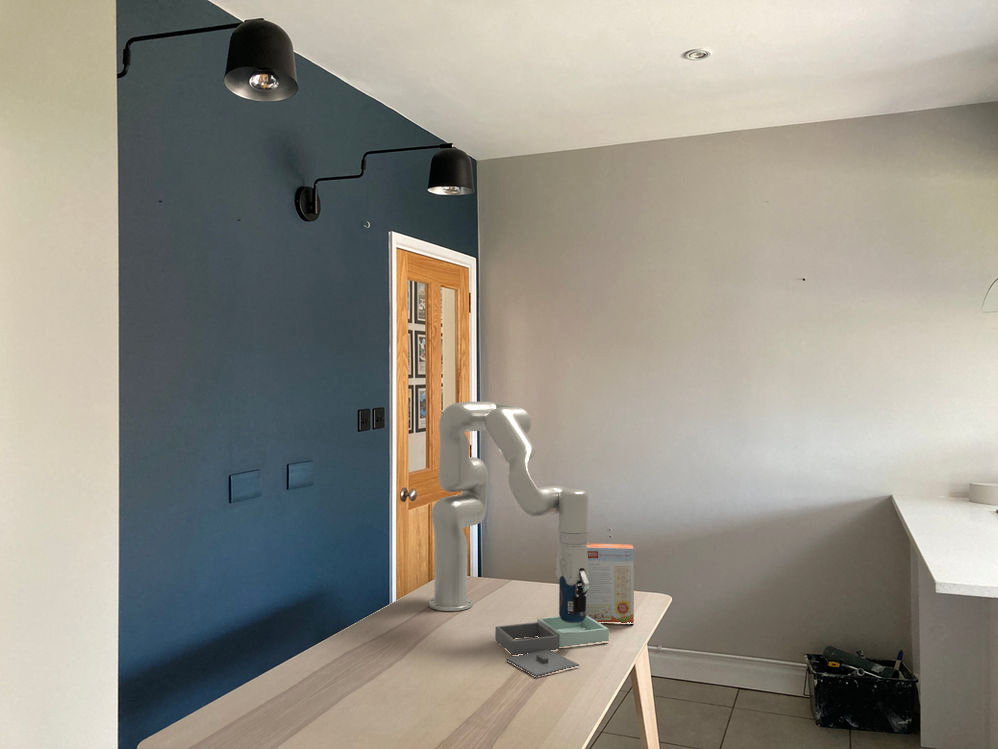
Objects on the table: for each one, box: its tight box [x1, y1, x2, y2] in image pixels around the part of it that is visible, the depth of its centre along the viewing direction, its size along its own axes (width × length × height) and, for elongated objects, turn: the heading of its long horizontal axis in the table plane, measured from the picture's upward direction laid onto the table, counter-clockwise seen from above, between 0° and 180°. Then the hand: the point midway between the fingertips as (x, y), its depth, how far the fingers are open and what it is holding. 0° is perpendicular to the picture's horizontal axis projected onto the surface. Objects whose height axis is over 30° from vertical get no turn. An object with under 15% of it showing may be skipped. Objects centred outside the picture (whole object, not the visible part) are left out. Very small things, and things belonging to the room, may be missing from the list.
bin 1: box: [494, 621, 560, 655], centre depth 195 cm, size 12×12×4 cm
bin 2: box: [536, 615, 610, 647], centre depth 202 cm, size 14×14×4 cm
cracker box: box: [586, 543, 635, 623], centre depth 216 cm, size 14×6×21 cm, turn 84°
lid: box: [505, 649, 580, 677], centre depth 183 cm, size 12×12×2 cm
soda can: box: [558, 574, 586, 623], centre depth 202 cm, size 7×7×12 cm
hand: (572, 607), depth 202 cm, fingers closed on soda can, 6 cm apart
